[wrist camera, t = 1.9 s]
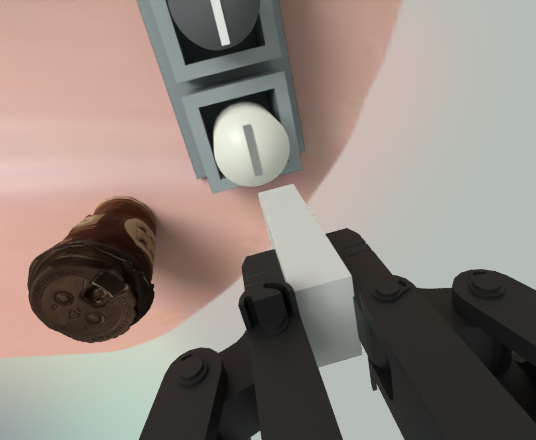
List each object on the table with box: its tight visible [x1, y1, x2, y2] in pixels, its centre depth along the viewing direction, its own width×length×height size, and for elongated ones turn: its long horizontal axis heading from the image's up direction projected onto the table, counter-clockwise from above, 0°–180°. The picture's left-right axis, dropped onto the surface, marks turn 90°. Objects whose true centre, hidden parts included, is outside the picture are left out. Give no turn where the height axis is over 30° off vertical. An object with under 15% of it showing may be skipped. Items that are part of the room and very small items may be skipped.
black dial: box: [167, 0, 260, 50], centre depth 22 cm, size 5×5×6 cm
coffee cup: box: [27, 197, 156, 343], centre depth 30 cm, size 9×8×13 cm
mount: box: [136, 0, 305, 194], centre depth 26 cm, size 26×11×6 cm, turn 12°
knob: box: [213, 100, 290, 187], centre depth 26 cm, size 5×5×6 cm
